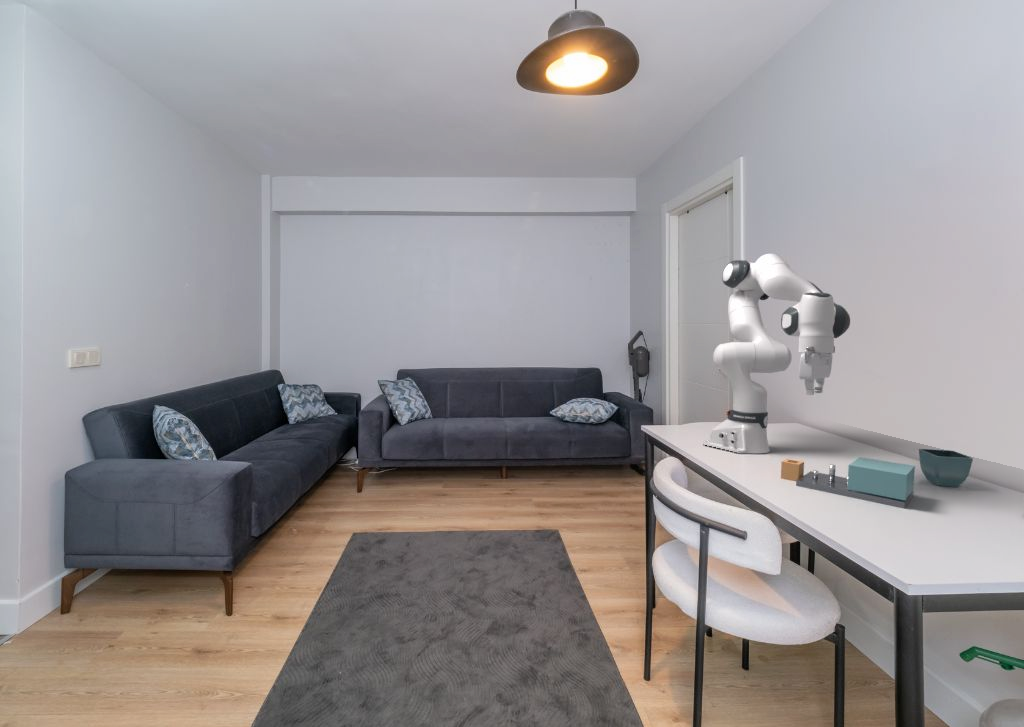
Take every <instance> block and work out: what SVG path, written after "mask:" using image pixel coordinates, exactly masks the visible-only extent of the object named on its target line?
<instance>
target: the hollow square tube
mask: <svg viewBox="0 0 1024 727" xmlns="http://www.w3.org/2000/svg"><path fill="white" fill-rule="evenodd" d="M780 465H781V467H780V468H781V470H780V479H783V480H787V481H793V482H796V480H797V479H799V478H801V477H802V476H804V475H805V474H804V473H805V472H804V471H805V461H803V460H796V459H790V458H786V459H783V460H782V461H781V464H780Z"/></svg>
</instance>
